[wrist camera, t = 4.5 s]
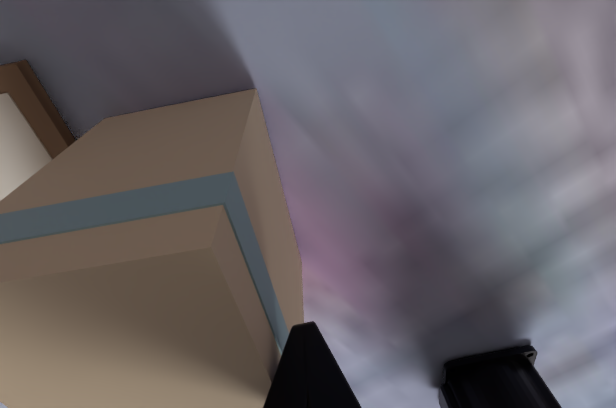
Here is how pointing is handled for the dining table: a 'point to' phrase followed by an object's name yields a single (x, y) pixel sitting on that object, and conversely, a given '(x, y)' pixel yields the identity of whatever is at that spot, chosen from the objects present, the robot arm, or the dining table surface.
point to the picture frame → (26, 126)
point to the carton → (150, 265)
